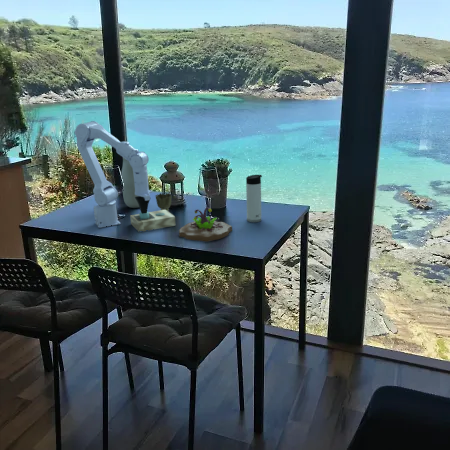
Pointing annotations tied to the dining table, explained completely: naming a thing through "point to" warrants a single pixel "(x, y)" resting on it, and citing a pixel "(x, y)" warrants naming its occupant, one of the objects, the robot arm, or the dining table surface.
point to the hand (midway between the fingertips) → (144, 213)
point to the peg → (144, 215)
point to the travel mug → (253, 198)
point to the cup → (163, 201)
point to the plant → (204, 228)
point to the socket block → (153, 220)
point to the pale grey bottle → (129, 185)
